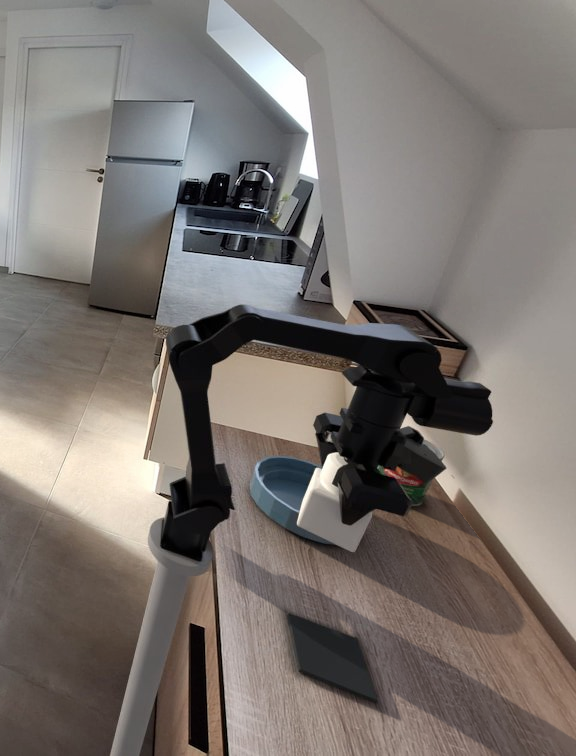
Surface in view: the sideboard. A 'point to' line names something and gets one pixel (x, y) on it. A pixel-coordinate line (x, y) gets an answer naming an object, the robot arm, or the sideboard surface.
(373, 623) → the sideboard surface
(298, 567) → the sideboard surface
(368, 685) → the coaster
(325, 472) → the medicine bottle
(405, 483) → the canned tomato
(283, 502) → the blue saucer dish
